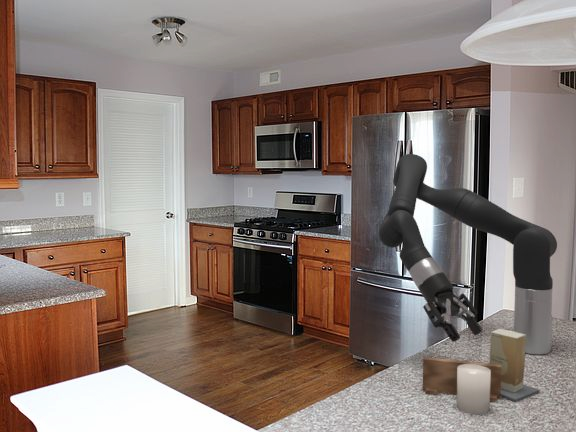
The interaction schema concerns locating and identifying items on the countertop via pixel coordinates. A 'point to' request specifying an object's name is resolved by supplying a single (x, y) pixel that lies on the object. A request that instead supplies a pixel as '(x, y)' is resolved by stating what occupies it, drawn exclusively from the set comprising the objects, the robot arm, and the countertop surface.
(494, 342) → the skincare box
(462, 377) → the white pillar candle
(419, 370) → the countertop surface
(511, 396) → the slate mat
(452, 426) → the countertop surface
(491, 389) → the walnut screen
